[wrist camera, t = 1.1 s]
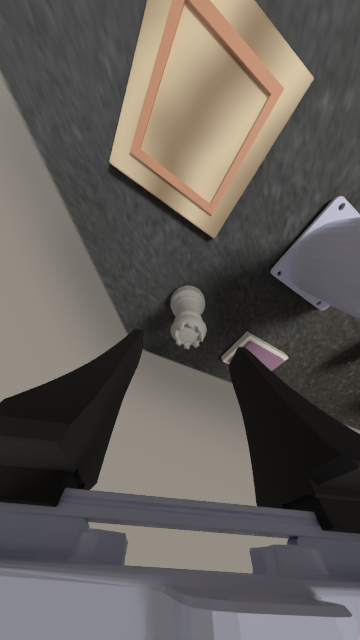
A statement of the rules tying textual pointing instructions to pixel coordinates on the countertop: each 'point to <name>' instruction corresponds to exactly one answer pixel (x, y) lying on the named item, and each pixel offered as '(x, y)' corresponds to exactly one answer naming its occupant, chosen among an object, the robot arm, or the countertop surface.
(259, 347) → the ink pad
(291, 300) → the countertop surface
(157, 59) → the marked board
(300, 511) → the robot arm
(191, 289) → the rook chess piece
